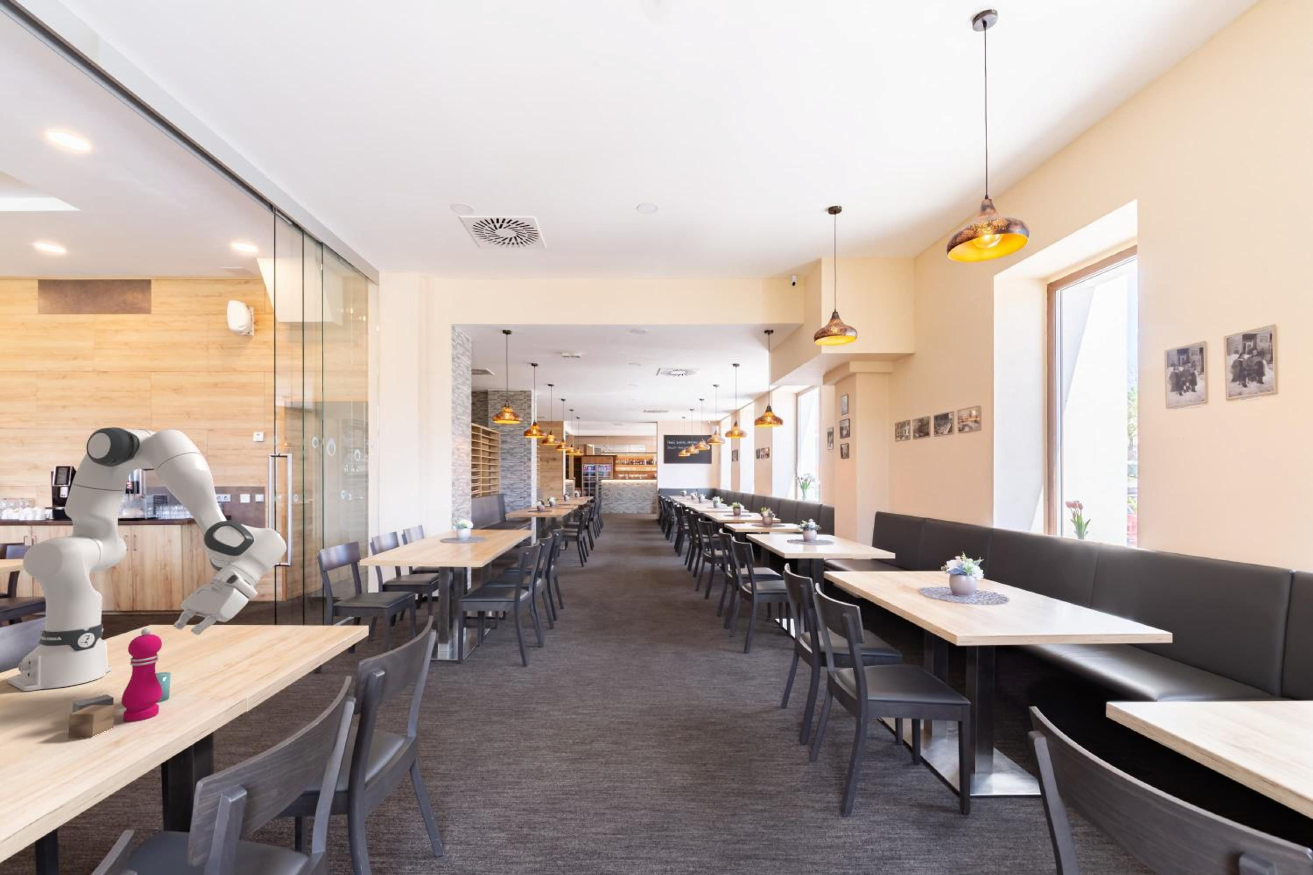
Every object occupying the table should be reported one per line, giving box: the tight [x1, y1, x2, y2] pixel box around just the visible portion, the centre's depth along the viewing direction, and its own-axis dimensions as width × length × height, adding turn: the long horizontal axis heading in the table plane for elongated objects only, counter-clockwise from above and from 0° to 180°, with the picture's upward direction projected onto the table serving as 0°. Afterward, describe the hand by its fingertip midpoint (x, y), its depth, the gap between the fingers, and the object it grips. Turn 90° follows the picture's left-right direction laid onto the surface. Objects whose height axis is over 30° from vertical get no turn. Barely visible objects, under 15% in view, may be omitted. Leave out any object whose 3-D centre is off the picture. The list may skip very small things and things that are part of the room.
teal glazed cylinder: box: [155, 671, 172, 704], centre depth 149 cm, size 5×5×6 cm
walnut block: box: [67, 704, 115, 739], centre depth 130 cm, size 5×5×5 cm
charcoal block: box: [71, 694, 115, 713], centre depth 139 cm, size 4×6×4 cm, turn 148°
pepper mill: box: [120, 627, 163, 723], centre depth 140 cm, size 7×7×20 cm
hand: (185, 630), depth 147 cm, fingers open, 8 cm apart
